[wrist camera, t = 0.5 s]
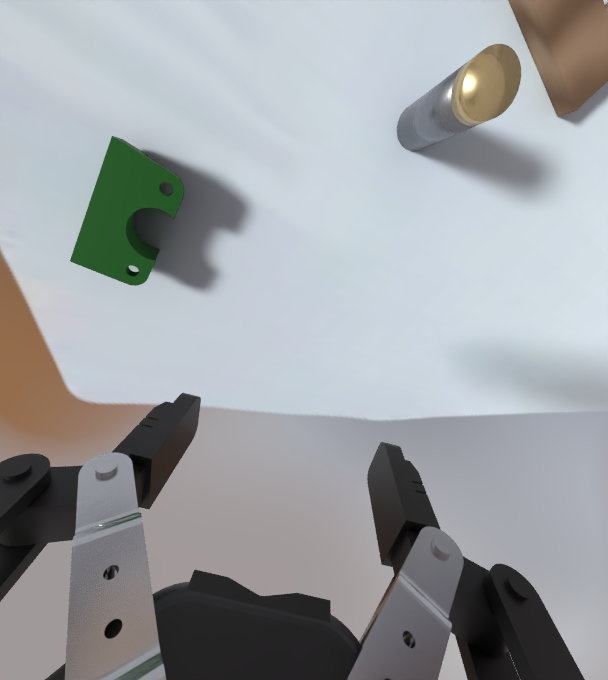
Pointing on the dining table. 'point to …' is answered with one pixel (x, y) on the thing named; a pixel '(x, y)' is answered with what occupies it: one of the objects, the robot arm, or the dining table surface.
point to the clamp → (124, 213)
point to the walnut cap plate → (566, 47)
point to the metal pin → (462, 99)
